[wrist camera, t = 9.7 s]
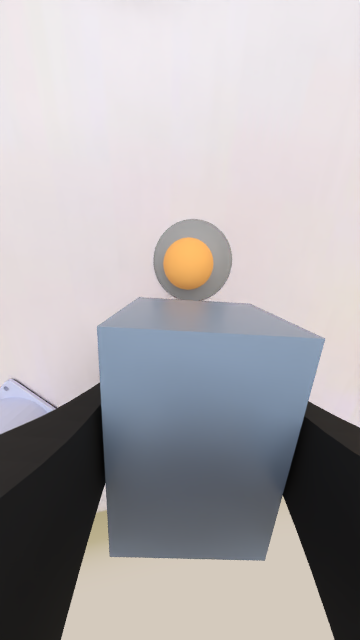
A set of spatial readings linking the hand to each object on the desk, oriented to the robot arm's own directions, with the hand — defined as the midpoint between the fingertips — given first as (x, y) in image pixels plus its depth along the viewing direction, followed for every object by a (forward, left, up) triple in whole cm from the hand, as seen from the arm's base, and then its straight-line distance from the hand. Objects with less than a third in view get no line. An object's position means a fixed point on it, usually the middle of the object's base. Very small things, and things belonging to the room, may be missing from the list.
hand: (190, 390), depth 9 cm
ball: (+5, +4, -8) cm, 10 cm away
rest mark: (+5, +4, -10) cm, 12 cm away
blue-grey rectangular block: (0, 0, -2) cm, 2 cm away
